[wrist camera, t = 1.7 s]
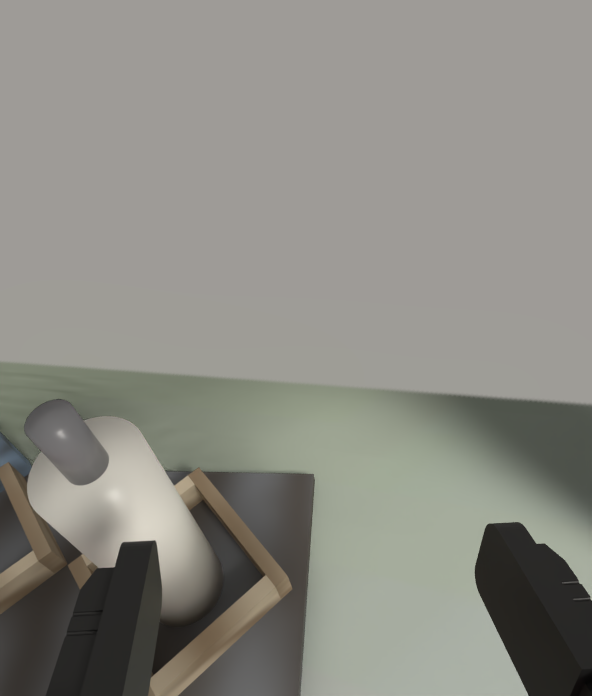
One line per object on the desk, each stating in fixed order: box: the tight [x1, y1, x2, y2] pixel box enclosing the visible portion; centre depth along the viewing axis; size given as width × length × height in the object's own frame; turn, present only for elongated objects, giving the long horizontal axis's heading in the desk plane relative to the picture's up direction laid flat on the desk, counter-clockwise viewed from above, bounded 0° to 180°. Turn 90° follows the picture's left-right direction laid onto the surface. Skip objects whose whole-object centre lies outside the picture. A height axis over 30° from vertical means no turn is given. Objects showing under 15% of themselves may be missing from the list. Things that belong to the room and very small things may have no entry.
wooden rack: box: [0, 432, 315, 696], centre depth 28 cm, size 14×27×6 cm, turn 85°
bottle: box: [24, 399, 224, 627], centre depth 22 cm, size 4×4×16 cm
